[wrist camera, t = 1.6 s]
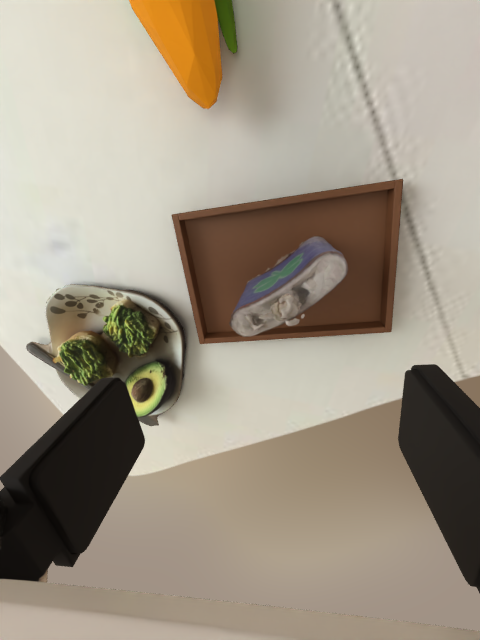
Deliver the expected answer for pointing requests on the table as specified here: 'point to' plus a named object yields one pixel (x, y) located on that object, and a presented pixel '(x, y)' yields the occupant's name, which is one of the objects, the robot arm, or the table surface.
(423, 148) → the table surface
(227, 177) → the table surface
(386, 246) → the tray
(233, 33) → the corn
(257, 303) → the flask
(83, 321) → the avocado toast plate
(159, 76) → the table surface
